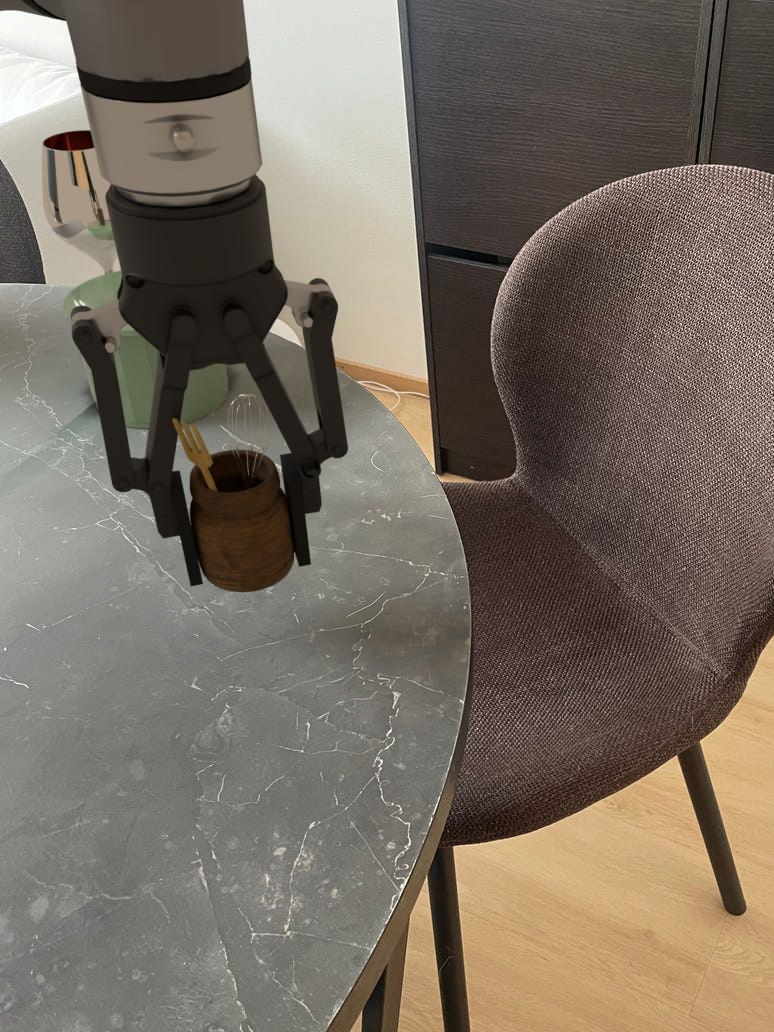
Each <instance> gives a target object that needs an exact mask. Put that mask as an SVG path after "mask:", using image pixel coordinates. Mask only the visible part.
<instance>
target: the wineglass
mask: <svg viewBox="0 0 774 1032" xmlns="http://www.w3.org/2000/svg"><path fill="white" fill-rule="evenodd" d="M110 185H111V184H110V183H109V182H108V181H107V180H105V179H104V178H103V177H102V176H101V174H100V170H99V165H98V161H97V157H96V152H95V148H94V143H93V139H92V134H91V130H90V129H80V130H79V129H78V130H77V129H76V130H69V131H64V132H59V133H55V134H53V135H50V136H48V137H46V138H44V139H43V140H42V142H41V191H42V193H41V195H42V206H43V212H44V216H45V218H46V221H47V223H48V224H49V226H50V228H51V229H52V231H53V232H54V233H55V234H56V235H57V236H58V237H59V239H61V240H62V241H63V242H65V243H66V244H67V245H69V246H71V247H72V248H73V249H75V250H77V251H78V252H81V253H82V254H84V255H85V256H87V257H89V258H91V259H92V260H94V261H95V262H96V263H97V264H99V266H100V267H101V268H102V269H103V272H104V275H105V274H108V273H112V272H115V271H114V265H115V263H116V260H117V259H118V255H117V251H116V246H115V242H114V236H113V232H112V227H111V222H110V218H109V213H108V209H107V204H106V200H105V195H106V192H107V191H108V189H109V187H110Z"/></svg>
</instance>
